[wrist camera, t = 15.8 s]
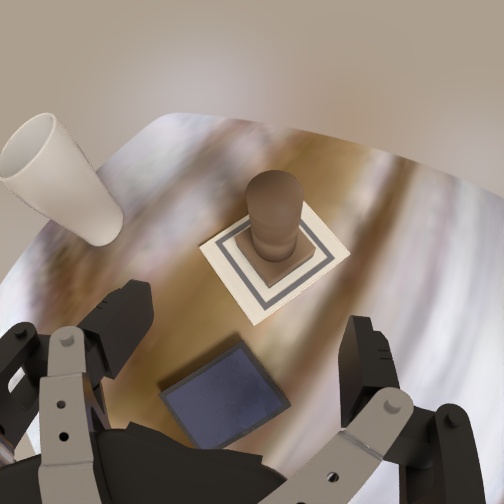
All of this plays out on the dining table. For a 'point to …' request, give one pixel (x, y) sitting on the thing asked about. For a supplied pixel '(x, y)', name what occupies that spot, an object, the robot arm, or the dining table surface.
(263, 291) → the label card
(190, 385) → the ink pad
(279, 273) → the stamp
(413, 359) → the dining table surface
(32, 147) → the drinking glass
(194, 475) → the robot arm
